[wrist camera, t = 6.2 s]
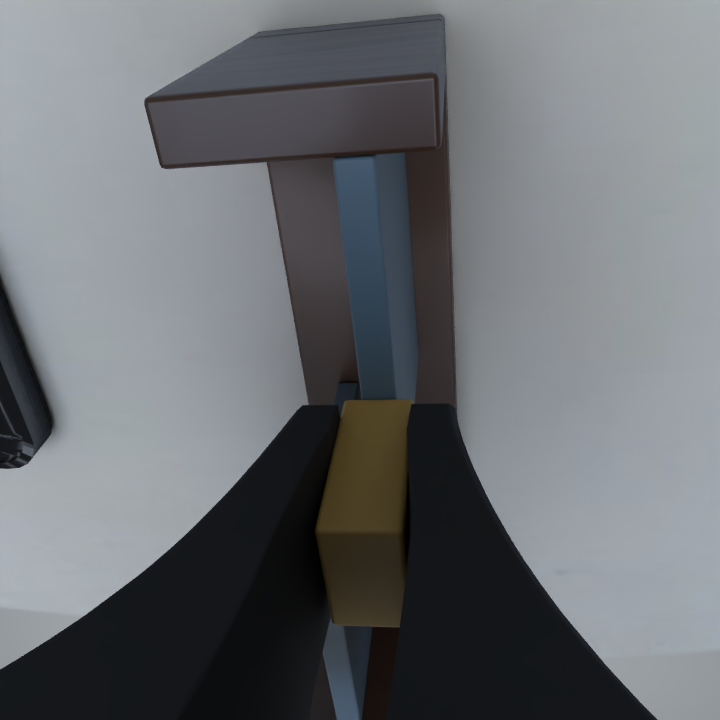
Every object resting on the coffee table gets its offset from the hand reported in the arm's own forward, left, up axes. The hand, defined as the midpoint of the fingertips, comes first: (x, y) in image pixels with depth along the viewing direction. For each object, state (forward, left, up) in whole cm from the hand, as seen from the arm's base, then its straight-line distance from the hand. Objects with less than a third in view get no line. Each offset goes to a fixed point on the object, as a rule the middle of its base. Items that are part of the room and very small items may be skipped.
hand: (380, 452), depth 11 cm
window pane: (+1, +1, -6) cm, 6 cm away
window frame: (-2, -1, -7) cm, 7 cm away
